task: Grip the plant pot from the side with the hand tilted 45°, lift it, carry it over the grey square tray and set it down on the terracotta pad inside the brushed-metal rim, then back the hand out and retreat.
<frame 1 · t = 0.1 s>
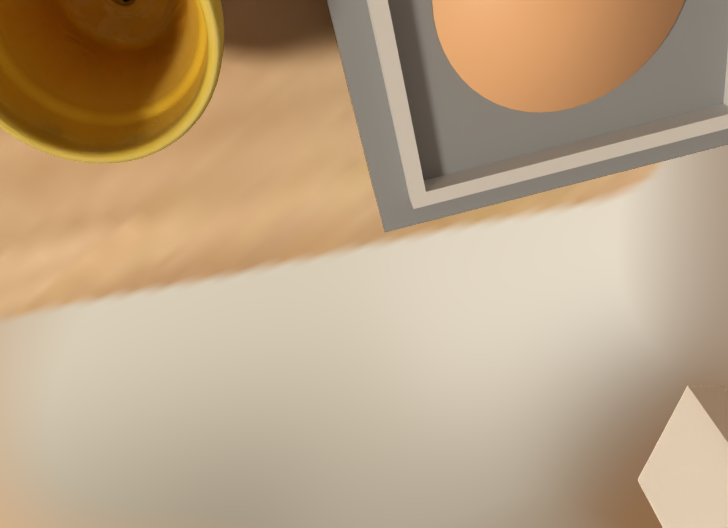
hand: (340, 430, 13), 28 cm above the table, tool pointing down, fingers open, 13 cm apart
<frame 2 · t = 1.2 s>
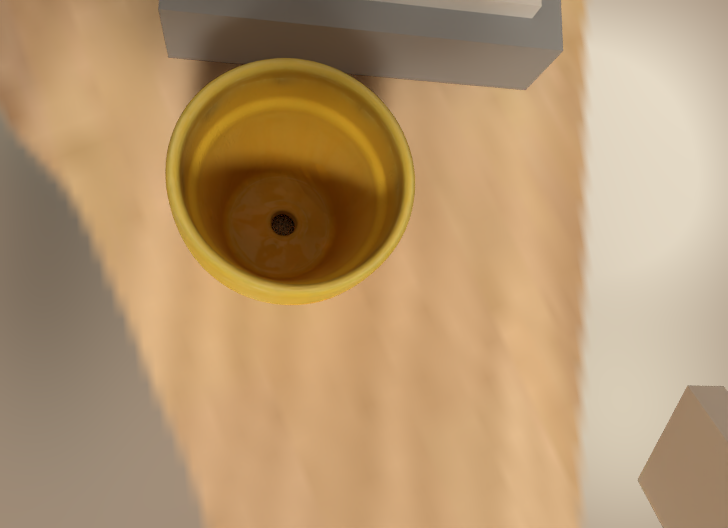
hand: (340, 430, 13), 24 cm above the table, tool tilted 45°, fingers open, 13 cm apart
plant pot: (279, 227, 38), on the table
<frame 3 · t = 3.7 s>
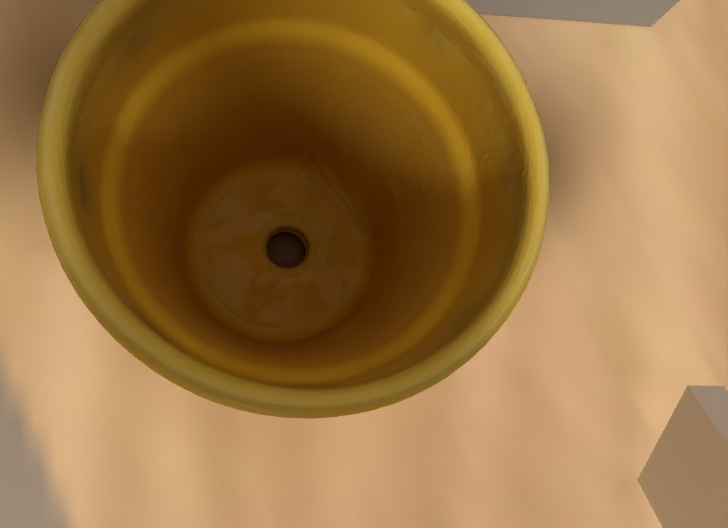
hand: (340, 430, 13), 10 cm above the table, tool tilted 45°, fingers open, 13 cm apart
plant pot: (281, 253, 23), on the table
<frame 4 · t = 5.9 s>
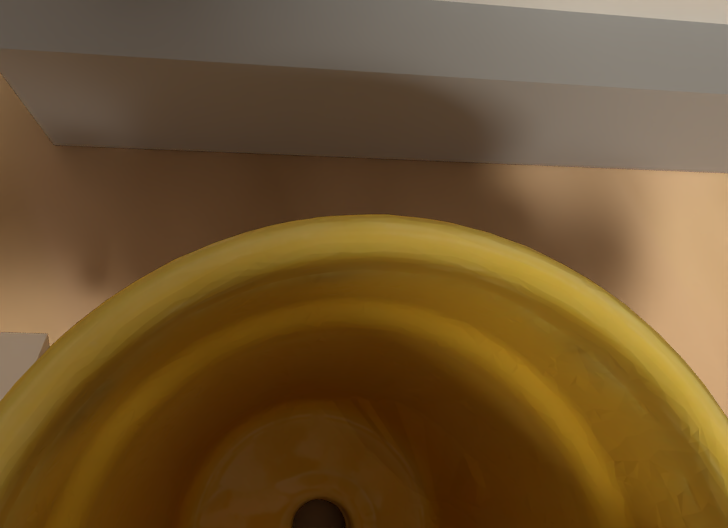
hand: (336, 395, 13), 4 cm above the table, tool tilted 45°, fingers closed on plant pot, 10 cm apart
plant pot: (310, 519, 17), on the table, touching gripper
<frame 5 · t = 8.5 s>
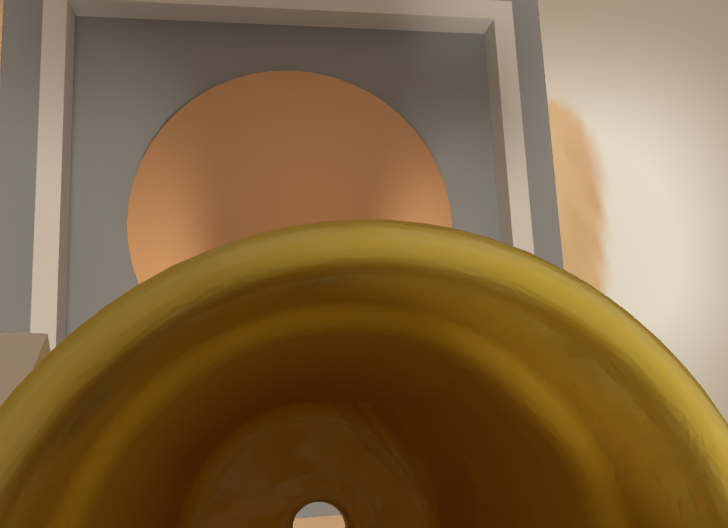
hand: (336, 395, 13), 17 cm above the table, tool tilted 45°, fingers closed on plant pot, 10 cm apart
grey square tray: (287, 249, 31), on the table
plant pot: (310, 521, 17), point 12 cm above the table, touching gripper
when the fingers open (10 cm above the table, at t = 11.1 s): plant pot drops 1 cm, resting on grey square tray.
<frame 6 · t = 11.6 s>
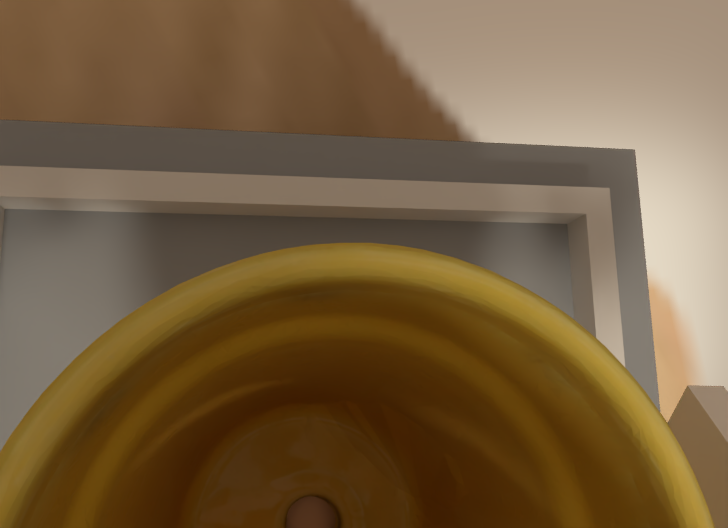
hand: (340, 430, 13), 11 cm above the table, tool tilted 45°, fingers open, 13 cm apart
grey square tray: (292, 487, 23), on the table
plant pot: (303, 515, 18), point 5 cm above the table, touching grey square tray
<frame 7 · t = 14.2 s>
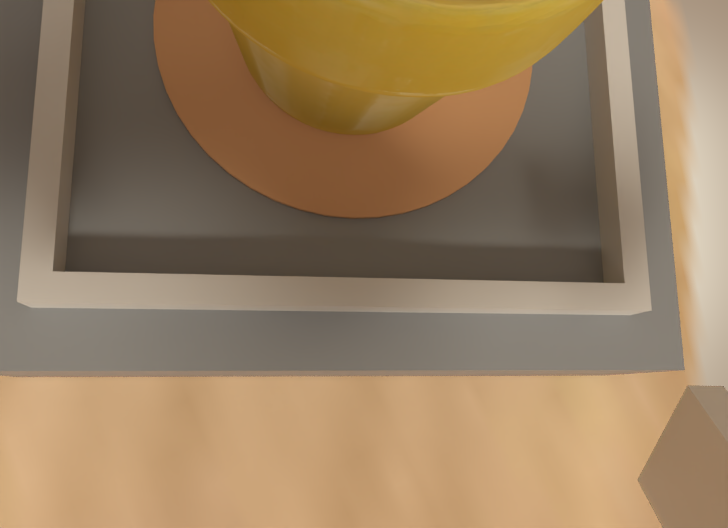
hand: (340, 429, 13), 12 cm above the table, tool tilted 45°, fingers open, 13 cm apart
grey square tray: (331, 101, 27), on the table
plant pot: (348, 38, 22), point 5 cm above the table, touching grey square tray
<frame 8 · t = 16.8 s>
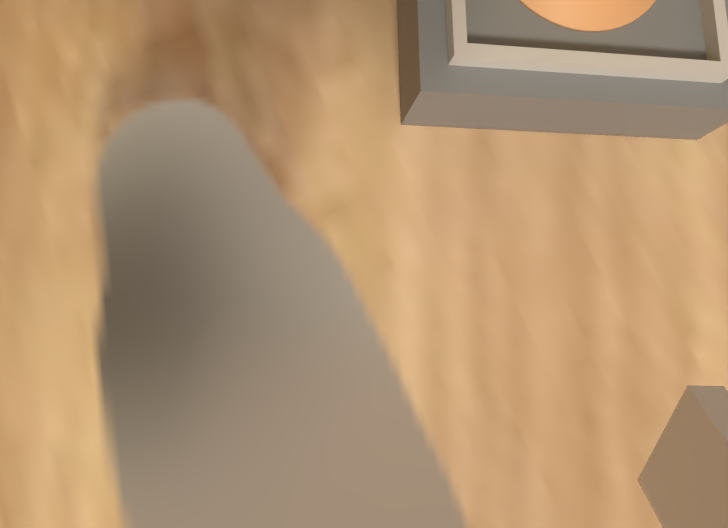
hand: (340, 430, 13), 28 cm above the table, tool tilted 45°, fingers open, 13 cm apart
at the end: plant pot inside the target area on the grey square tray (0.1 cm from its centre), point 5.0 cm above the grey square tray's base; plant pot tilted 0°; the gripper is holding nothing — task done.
